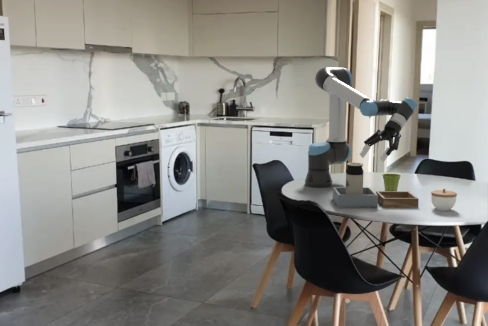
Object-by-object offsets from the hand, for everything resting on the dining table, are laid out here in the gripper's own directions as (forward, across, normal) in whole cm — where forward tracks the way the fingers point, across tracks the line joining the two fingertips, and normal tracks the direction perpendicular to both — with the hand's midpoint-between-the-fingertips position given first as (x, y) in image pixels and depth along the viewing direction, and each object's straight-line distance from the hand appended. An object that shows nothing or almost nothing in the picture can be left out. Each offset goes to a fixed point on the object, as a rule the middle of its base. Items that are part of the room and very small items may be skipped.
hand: (371, 157), depth 256 cm
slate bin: (+22, 0, -8) cm, 23 cm away
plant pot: (-3, +10, -33) cm, 34 cm away
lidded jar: (+4, -30, -26) cm, 40 cm away
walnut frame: (+10, -10, -20) cm, 24 cm away
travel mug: (+22, 0, -7) cm, 23 cm away
